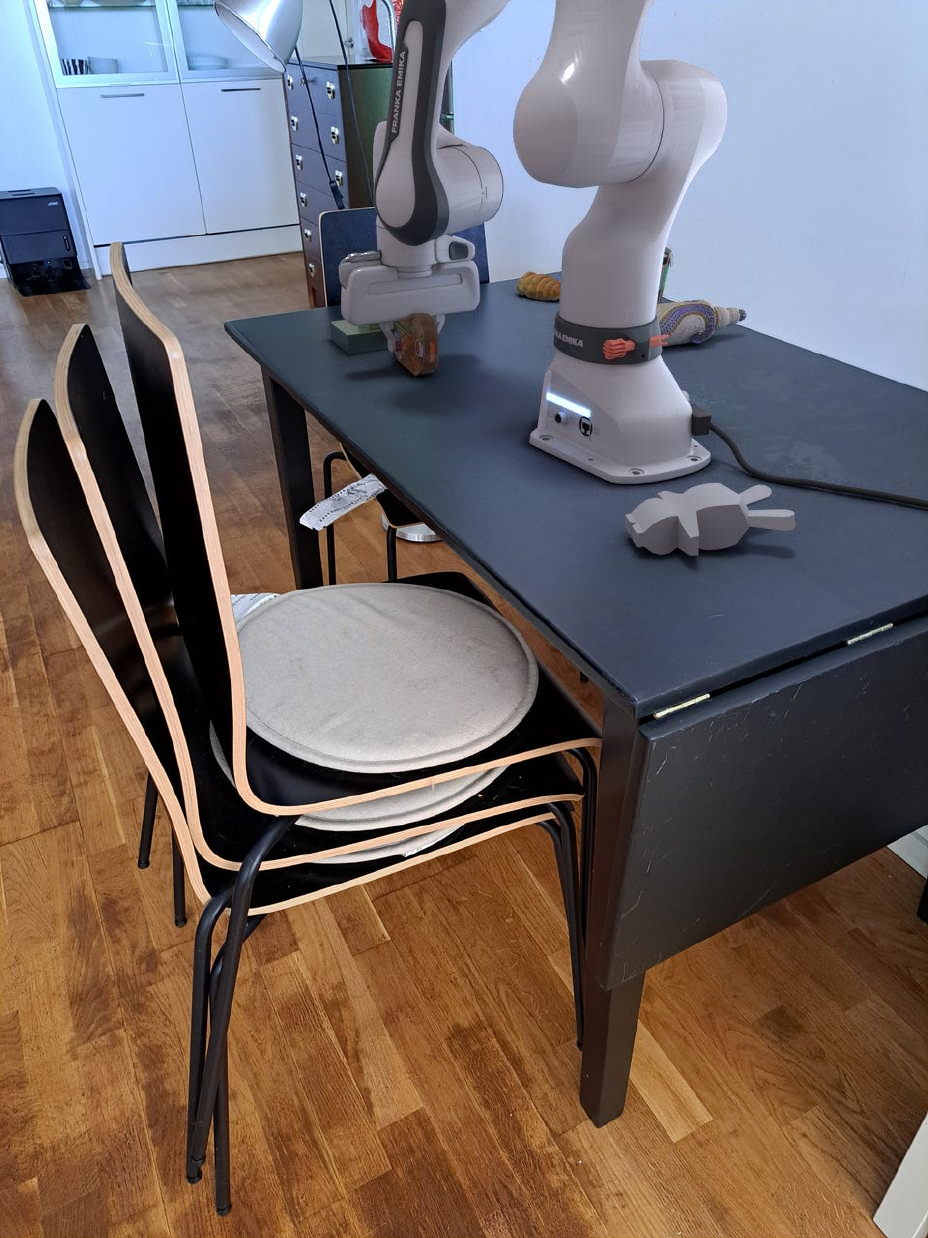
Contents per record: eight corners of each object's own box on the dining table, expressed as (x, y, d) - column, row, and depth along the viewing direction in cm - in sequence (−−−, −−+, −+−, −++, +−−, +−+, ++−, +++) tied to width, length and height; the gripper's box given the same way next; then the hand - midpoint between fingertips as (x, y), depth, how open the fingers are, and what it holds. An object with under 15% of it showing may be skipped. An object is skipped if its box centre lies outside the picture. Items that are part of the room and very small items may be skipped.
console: (426, 343, 141) (425, 310, 138) (348, 354, 136) (346, 321, 133) (406, 330, 146) (405, 298, 144) (331, 340, 142) (329, 308, 139)
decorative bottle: (618, 361, 132) (622, 316, 129) (593, 348, 138) (596, 304, 135) (758, 340, 141) (766, 297, 137) (729, 328, 147) (735, 286, 143)
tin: (390, 353, 136) (387, 296, 132) (409, 350, 137) (407, 294, 133) (421, 383, 125) (420, 323, 120) (442, 381, 126) (441, 320, 121)
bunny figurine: (616, 487, 88) (762, 461, 88) (617, 532, 90) (759, 506, 91) (646, 532, 80) (806, 503, 81) (646, 580, 83) (801, 551, 84)
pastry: (574, 297, 163) (575, 276, 161) (550, 305, 159) (551, 283, 157) (536, 288, 169) (537, 267, 166) (512, 295, 165) (512, 274, 163)
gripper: (345, 259, 115) (353, 364, 123) (485, 244, 123) (484, 344, 130) (329, 250, 120) (338, 351, 128) (465, 236, 127) (465, 333, 135)
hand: (413, 347), depth 129 cm, fingers open, 4 cm apart
